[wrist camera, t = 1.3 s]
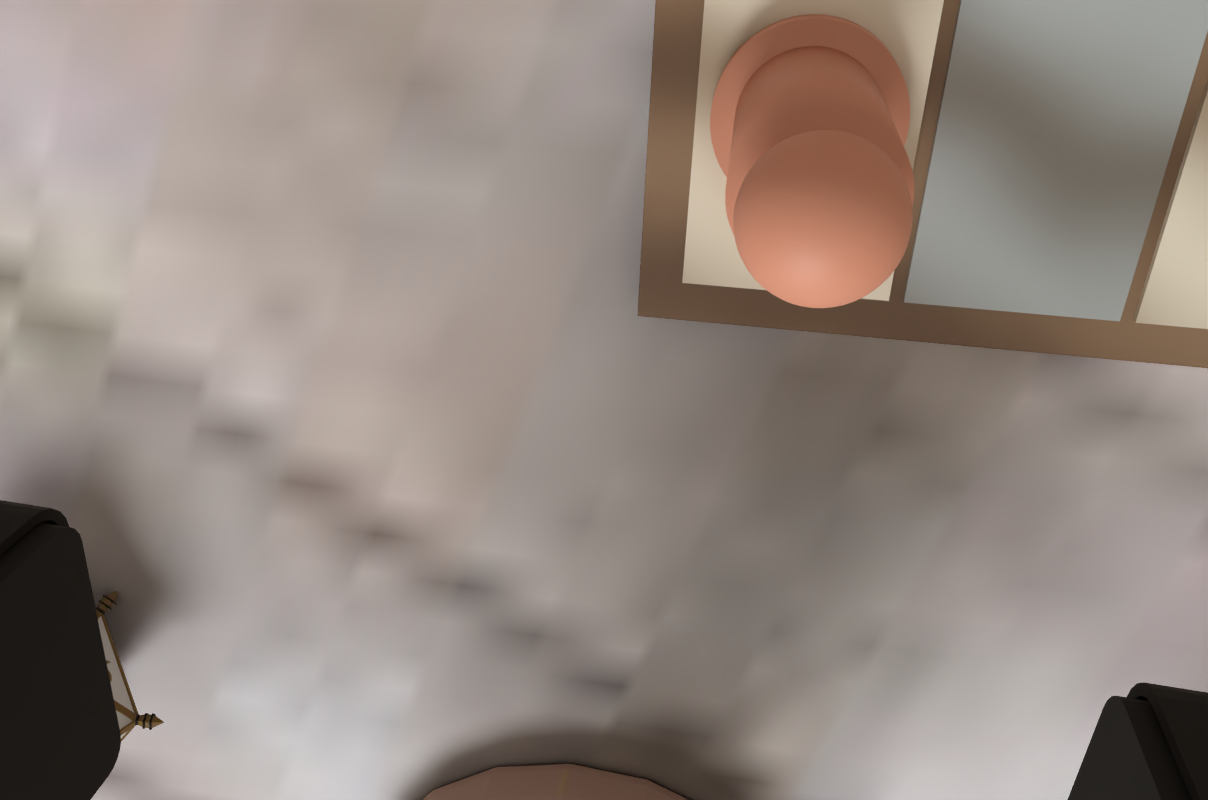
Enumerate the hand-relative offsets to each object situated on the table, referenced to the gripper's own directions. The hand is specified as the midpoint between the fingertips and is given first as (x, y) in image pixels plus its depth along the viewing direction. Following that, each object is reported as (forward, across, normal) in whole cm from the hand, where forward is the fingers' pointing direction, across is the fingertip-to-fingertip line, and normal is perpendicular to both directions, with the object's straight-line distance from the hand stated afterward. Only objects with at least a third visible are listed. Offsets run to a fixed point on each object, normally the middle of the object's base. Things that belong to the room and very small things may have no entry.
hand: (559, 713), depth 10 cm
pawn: (+20, -2, -2) cm, 20 cm away
